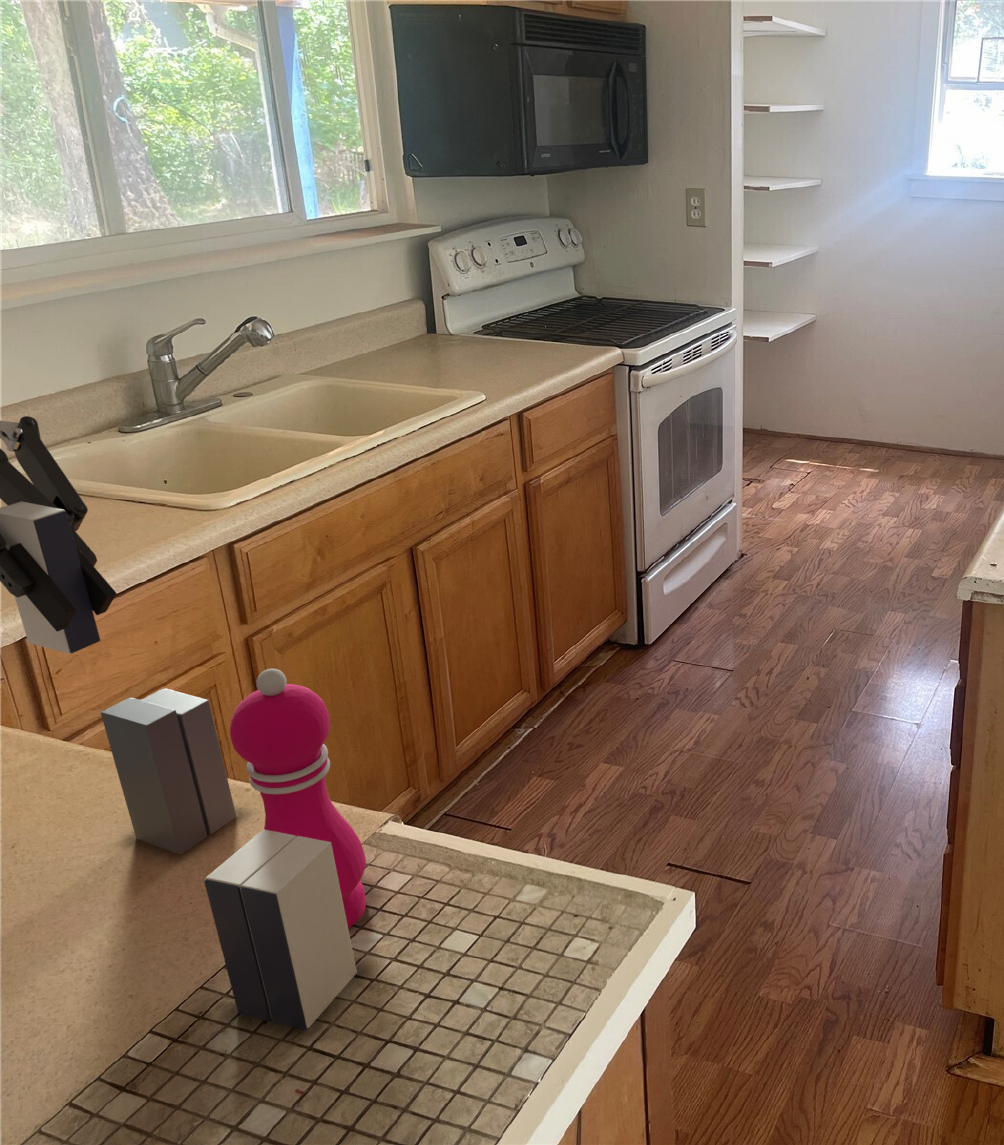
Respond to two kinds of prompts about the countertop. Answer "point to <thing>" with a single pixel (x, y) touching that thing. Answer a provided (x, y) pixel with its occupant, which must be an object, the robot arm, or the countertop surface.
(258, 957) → the grey tall block
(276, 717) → the pepper mill
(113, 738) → the grey books
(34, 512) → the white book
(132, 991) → the countertop surface
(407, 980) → the countertop surface
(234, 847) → the countertop surface
